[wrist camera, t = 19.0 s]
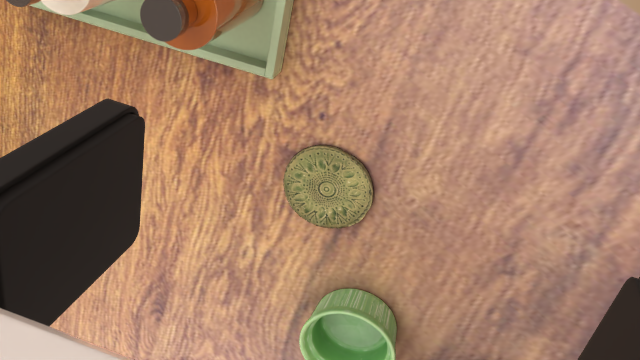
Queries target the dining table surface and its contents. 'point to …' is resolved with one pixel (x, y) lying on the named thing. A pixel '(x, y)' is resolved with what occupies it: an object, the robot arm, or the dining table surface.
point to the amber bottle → (194, 19)
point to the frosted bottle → (64, 5)
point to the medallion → (328, 187)
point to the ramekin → (349, 328)
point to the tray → (229, 49)
